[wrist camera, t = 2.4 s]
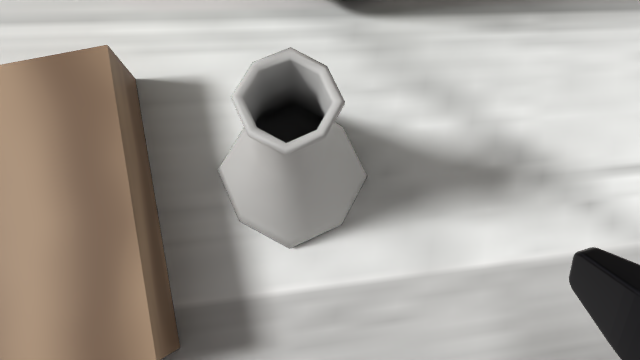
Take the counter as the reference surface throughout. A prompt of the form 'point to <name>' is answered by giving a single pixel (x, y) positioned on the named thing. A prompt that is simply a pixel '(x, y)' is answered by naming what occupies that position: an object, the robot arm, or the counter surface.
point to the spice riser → (79, 215)
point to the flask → (290, 151)
